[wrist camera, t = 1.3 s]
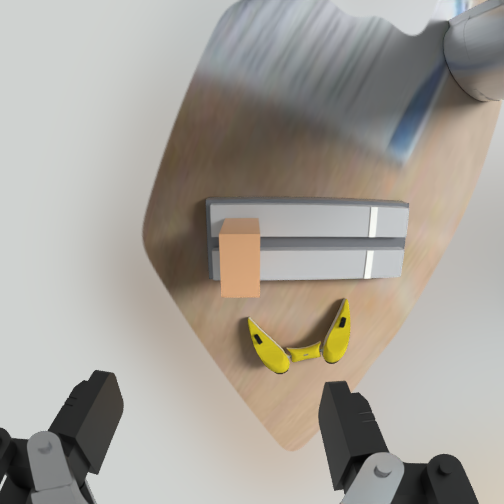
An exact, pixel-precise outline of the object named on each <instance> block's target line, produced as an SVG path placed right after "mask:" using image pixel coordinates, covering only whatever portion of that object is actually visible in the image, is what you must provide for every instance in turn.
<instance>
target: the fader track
mask: <svg viewBox="0 0 504 504" xmlns="http://www.w3.org/2000/svg"><path fill="white" fill-rule="evenodd" d="M408 217H409V203H406V202H403V201H394V200H375V199H353V198H322V197H208V198H207V199H206V223H207V245H208V265H209V279H213V280H221V276H220V252H219V233H220V230H221V228H222V225H223V223H224V220H225V218H258V219H259V228H260V280H315V279H357V278H364V279H370V278H388V277H400V276H401V270H402V264H403V257H404V246H405V238H406V235H407V226H408Z"/></svg>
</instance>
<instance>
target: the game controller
mask: <svg viewBox="0 0 504 504" xmlns="http://www.w3.org/2000/svg"><path fill="white" fill-rule="evenodd" d="M248 327H249V331H250V335H251V338H252V341H253V344H254V347H255V349H256V351H257V353H258V355H259V357H260V359H261V360H262V362H263V363H264V364H265V366H266V367H268V368H269V369H270V370H271V371H273V372H275V373H276V374H283V373H286V372H287V371H288V369H289V365H290V363H289V358H291V360H292V362H297V361H301V360H304V359H310V358H317V357H320V356H321V355H320V352H322V355H323V357H324V359H325V361H326V362H327V363H329V364H334V363H336V362H338V361H339V360H340V358H341V357H342V356H343V355H344V353H345V351H346V349H347V346H348V342H349V336H350V311H349V304H348V300H347V299H345V298H344V299H343V301H342V303H341V305H340V308H339V310H338V312H337V315H336V317H335V319H334V321H333V323H332V325H331V327H330V329H329V330H328V333H327V335H326V337H325V339H324V342H323V345H322V348H321V349H319V347H320V344H321V341H319V342H317V343H315V344H313V345H310V346H307V347H302V348H287V350H288V351H289V352H290V354H291V355H287V354H286V352H285V351H284V350H283V349H282V348H281V347H280V345H279V344H278V343H277V342H276V341H274V340H273V339H272V338H271V337H270V336H269V335H268V334H267V333H266V332H264V331H263V330H262V329H261V328H260V327H259V326H258V325H257V324H256V323H255V322H254V321H253V320H252V319H251V318H250V317H248Z"/></svg>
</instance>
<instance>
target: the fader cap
mask: <svg viewBox="0 0 504 504" xmlns="http://www.w3.org/2000/svg"><path fill="white" fill-rule="evenodd" d="M219 252H220V276H221V297H260V228H259V219H258V218H225V220H224V223H223V225H222V228H221V230H220V233H219Z"/></svg>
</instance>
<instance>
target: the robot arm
mask: <svg viewBox="0 0 504 504" xmlns="http://www.w3.org/2000/svg"><path fill="white" fill-rule="evenodd" d="M449 24H450V28H449V29H448V31H447V32H446V34H445V37H444V44H443V48H444V55H445V58H446V62H447V64H448V67H449V69H450V71H451V73H452V75H453V76H454V78H455V80H456V81H457V82H458V84H459V85H460V87H461V88H462V89H463V90H464V91H465V92H466V93H468V94H469V95H470V96H472V97H473V98H475V99H477V100H480V101H500V100H504V0H487V1H485V2H483V3H481V4H479V5H477V6H475V7H473V8H471V9H469V10H467V11H465V12H463V13H461V14H459V15H458V16H456V17H454V18H452V19H450V20H449ZM123 406H124V405H123V399H122V396H121V392H120V389H119V386H118V383H117V379H116V376H115V374H114V373H111V372H105V371H99V370H95V371H94V372H93V374H92V375H91V377H90V378H89V380H88V381H85V380H84V381H82V382H81V383H79V384H78V385H77V386H75V387H74V389H73V390H72V392H71V394H70V395H69V398H67V400H66V402H65V405H63V406H62V408H61V410H60V411H59V413H58V414H57V416H56V418H55V419H54V421H53V423H52V424H51V426H50V428H49V429H48V431H41V432H38V433H36V434H34V435H33V436H31V438H30V439H28V440H27V439H16V438H11V437H10V435H9V433H8V432H7V431H6V430H5V429H3V428H0V484H1V481H2V479H3V477H4V475H6V476H7V478H6V480H5V482H4V484H3V486H2V489H1V491H0V504H97V503H96V501H95V499H94V496H93V494H92V492H91V489H90V487H89V485H88V482H87V480H86V475H87V473H88V472H90V473H93V474H98V473H99V471H100V468H101V465H102V463H103V460H104V458H105V455H106V453H107V450H108V448H109V445H110V443H111V440H112V438H113V435H114V433H115V430H116V428H117V426H118V423H119V421H120V418H121V416H122V413H123ZM318 418H319V426H320V430H321V434H322V438H323V443H324V447H325V452H326V456H327V460H328V464H329V469H330V474H331V478H332V483H333V487H334V491H336V490H342V489H343V490H344V494H345V496H344V498H343V499H342V501H341V502H340V504H479V503H478V500H477V498H476V495H475V493H474V491H473V488H472V486H471V484H470V482H469V479H468V477H467V475H466V473H465V471H464V469H463V466H462V464H461V462H460V461H459V460H458V459H457V458H456V457H454V456H452V455H448V454H440V455H437V456H435V457H433V459H431V460H430V462H429V463H428V464H424V463H420V464H419V463H404V462H402V461H401V460H400V459H399V458H398V457H397V456H395V455H393V454H391V453H389V451H388V448H387V446H386V444H385V441H384V439H383V436H382V434H381V432H380V429H379V427H378V424H377V422H376V421H375V417H374V415H373V413H372V410H371V408H370V405H369V403H368V401H367V400H366V399H365V398H364V397H363V396H362V395H361V394H360V393H359V392H358V393H351V392H350V390H349V387H348V384H347V382H346V381H334V382H326V383H325V385H324V389H323V393H322V398H321V402H320V407H319V414H318Z"/></svg>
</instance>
